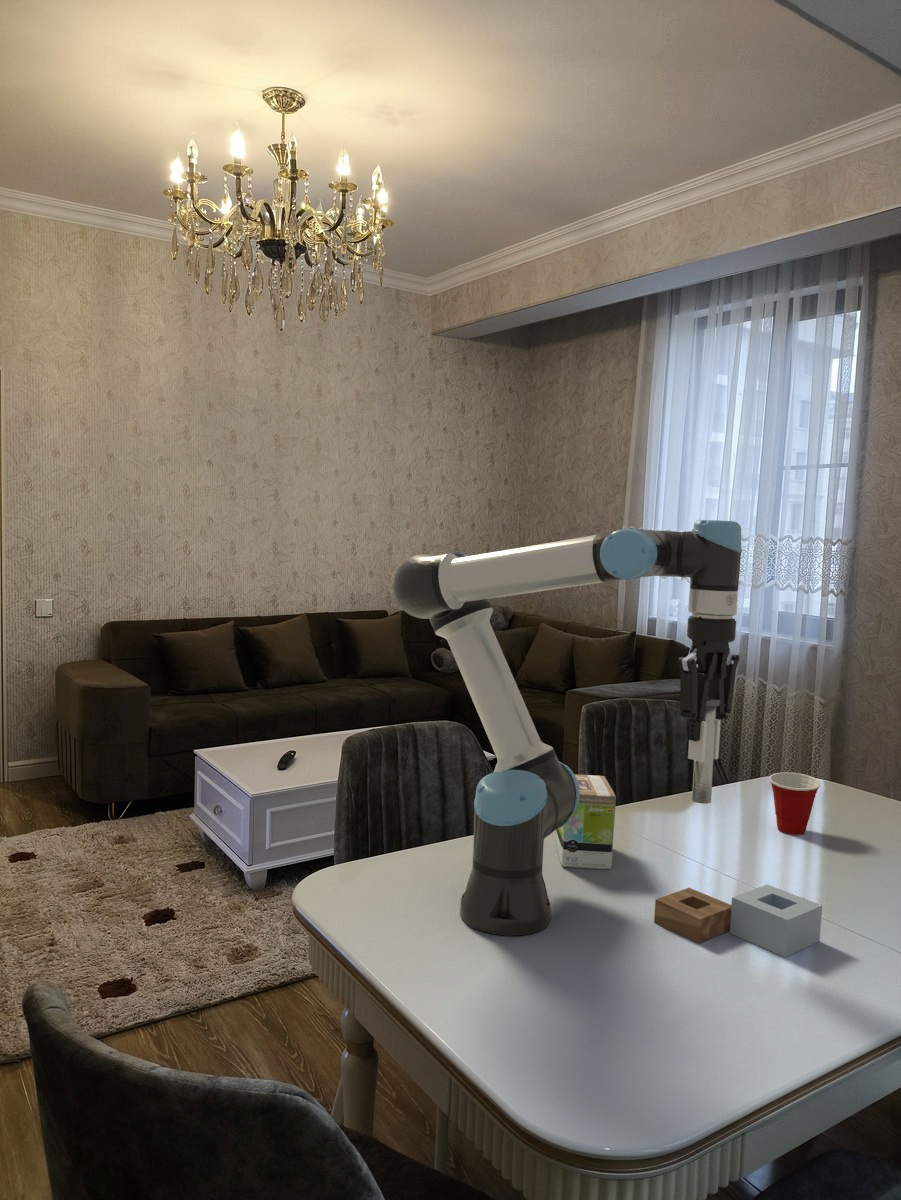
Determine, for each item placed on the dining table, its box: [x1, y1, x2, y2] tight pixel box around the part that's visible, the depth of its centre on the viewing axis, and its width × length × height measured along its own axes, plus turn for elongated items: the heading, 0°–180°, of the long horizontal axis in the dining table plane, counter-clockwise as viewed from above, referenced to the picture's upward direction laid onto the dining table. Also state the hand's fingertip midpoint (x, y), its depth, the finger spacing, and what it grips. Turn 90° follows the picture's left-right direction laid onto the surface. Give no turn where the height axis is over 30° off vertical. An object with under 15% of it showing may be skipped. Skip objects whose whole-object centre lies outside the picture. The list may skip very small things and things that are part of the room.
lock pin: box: [691, 697, 720, 805], centre depth 145 cm, size 4×4×17 cm
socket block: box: [729, 884, 823, 958], centre depth 145 cm, size 10×10×6 cm
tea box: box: [554, 773, 617, 870], centre depth 178 cm, size 15×10×15 cm, turn 179°
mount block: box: [653, 887, 732, 944], centre depth 148 cm, size 9×9×4 cm
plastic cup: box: [768, 771, 822, 836], centre depth 198 cm, size 11×11×12 cm
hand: (703, 758), depth 146 cm, fingers closed on lock pin, 3 cm apart
